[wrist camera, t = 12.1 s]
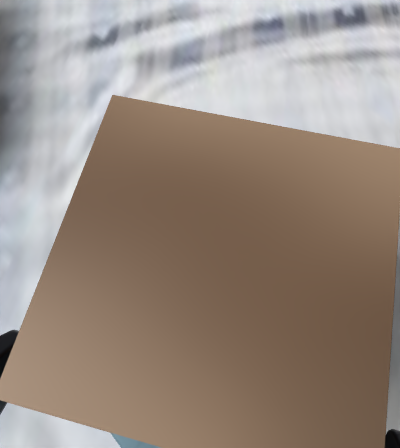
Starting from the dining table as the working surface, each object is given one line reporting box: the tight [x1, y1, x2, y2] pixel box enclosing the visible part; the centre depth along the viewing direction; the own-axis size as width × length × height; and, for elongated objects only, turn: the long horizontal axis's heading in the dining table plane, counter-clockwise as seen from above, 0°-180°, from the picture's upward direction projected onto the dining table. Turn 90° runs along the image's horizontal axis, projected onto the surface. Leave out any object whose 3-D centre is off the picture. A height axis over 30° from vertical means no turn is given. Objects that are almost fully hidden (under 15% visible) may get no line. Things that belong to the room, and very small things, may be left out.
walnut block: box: [0, 95, 400, 448], centre depth 12 cm, size 5×5×14 cm
